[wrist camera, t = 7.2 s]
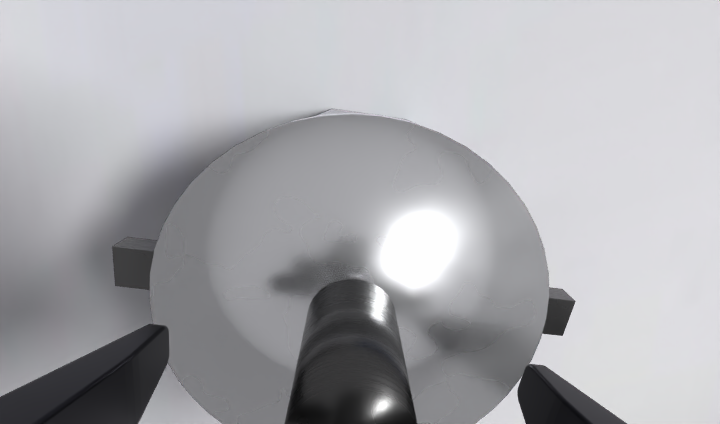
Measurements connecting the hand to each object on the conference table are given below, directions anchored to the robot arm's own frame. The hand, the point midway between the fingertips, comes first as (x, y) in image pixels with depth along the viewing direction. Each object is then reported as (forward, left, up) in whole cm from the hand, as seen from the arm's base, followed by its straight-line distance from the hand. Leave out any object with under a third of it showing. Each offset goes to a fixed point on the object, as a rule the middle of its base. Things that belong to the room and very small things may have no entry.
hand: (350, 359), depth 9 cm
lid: (0, 0, -4) cm, 4 cm away
